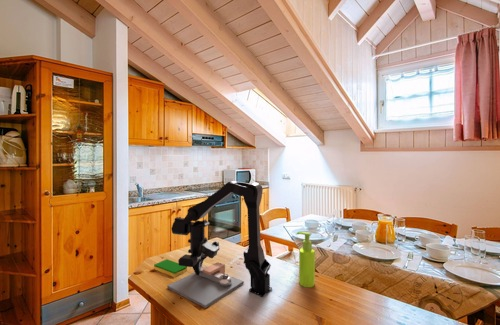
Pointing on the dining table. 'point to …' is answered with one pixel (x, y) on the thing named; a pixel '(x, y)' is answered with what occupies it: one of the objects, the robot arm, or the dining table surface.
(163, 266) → the dish sponge
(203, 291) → the base plate
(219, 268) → the block
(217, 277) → the lever
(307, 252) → the soap dispenser
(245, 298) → the dining table surface
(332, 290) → the dining table surface
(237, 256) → the butter knife
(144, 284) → the dining table surface
